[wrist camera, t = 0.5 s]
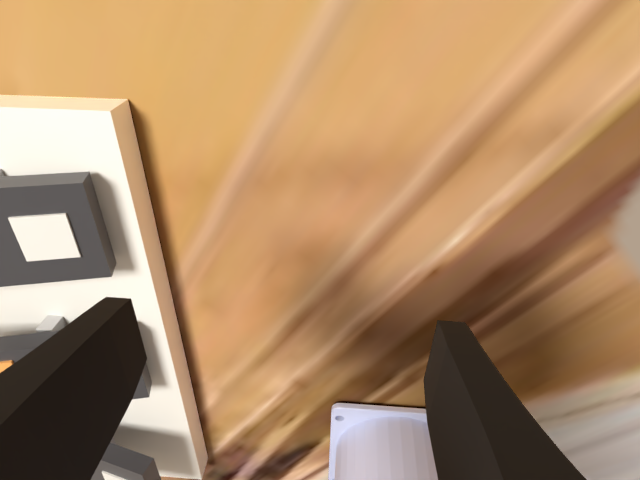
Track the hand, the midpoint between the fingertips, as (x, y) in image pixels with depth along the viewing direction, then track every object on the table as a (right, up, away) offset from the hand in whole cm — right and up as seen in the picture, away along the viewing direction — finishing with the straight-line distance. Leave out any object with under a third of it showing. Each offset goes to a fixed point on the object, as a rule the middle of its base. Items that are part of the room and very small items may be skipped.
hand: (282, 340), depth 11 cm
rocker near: (-12, +3, +7) cm, 14 cm away
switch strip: (-12, -2, +14) cm, 19 cm away
